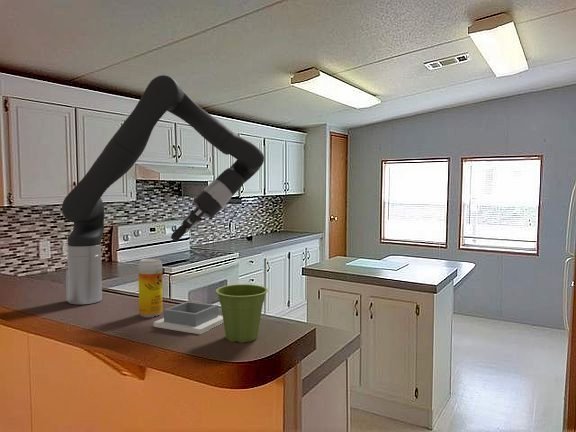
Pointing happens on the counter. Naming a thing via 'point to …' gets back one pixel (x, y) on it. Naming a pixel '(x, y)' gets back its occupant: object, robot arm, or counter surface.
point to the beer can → (150, 287)
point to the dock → (190, 317)
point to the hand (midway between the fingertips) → (173, 239)
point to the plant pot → (241, 310)
